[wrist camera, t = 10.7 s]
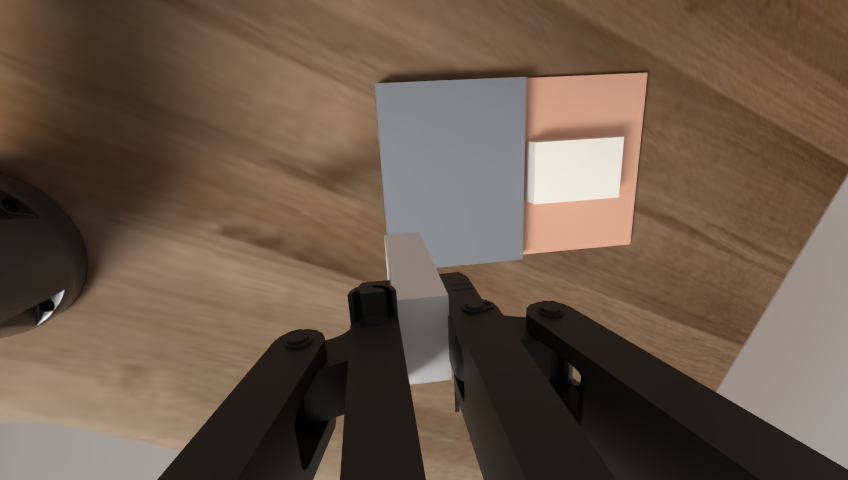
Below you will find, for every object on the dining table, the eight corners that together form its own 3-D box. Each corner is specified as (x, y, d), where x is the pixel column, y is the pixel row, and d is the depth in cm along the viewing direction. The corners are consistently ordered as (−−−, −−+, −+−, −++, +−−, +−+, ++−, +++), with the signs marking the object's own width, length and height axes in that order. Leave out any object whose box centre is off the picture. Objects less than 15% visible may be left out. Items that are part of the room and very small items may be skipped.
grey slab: (389, 265, 43) (390, 272, 42) (374, 85, 38) (374, 83, 36) (516, 253, 45) (522, 259, 43) (518, 78, 40) (526, 76, 38)
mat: (517, 253, 45) (519, 254, 45) (520, 78, 40) (522, 78, 39) (627, 242, 47) (630, 244, 46) (644, 73, 41) (647, 72, 41)
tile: (524, 199, 43) (533, 204, 41) (525, 141, 41) (535, 142, 39) (605, 193, 44) (618, 197, 42) (609, 135, 42) (624, 136, 40)
